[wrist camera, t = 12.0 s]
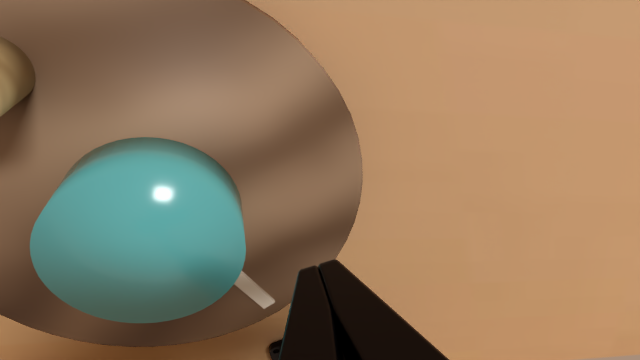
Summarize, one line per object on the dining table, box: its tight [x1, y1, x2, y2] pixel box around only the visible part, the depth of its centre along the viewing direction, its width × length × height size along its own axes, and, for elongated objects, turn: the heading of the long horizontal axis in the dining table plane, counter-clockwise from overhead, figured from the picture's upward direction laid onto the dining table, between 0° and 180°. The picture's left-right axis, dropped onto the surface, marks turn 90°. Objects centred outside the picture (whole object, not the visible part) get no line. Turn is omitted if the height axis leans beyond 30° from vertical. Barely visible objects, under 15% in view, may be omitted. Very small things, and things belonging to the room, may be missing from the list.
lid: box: [30, 137, 246, 323], centre depth 17 cm, size 8×8×3 cm
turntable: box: [0, 0, 362, 347], centre depth 17 cm, size 20×20×4 cm
